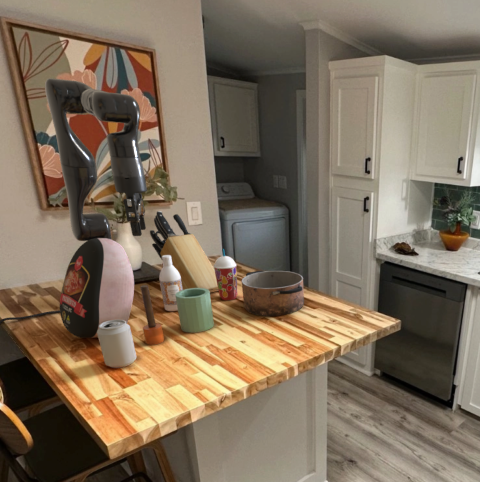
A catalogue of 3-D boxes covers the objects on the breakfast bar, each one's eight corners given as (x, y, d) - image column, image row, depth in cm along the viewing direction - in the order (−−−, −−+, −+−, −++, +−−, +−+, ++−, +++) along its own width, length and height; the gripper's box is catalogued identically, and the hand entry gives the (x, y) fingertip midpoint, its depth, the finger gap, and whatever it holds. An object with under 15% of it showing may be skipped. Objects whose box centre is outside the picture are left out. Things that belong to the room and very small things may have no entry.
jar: (180, 334, 131) (174, 299, 127) (182, 322, 140) (176, 289, 136) (214, 330, 135) (209, 296, 131) (213, 319, 144) (209, 286, 139)
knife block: (180, 275, 189) (169, 207, 178) (225, 291, 170) (216, 217, 159) (155, 280, 181) (142, 209, 169) (200, 298, 162) (188, 220, 150)
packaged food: (55, 333, 129) (28, 239, 118) (122, 315, 144) (103, 230, 133) (86, 353, 118) (59, 251, 107) (154, 331, 133) (137, 240, 122)
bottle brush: (144, 345, 123) (133, 289, 117) (146, 338, 128) (135, 284, 121) (163, 343, 125) (152, 287, 119) (164, 336, 129) (154, 282, 123)
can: (114, 356, 117) (105, 317, 112) (142, 356, 117) (134, 317, 113) (99, 369, 110) (89, 329, 105) (129, 369, 110) (119, 328, 106)
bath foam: (166, 313, 147) (156, 259, 140) (163, 306, 153) (154, 254, 145) (187, 309, 151) (178, 257, 143) (184, 303, 156) (175, 252, 149)
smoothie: (244, 296, 166) (239, 248, 159) (230, 302, 159) (224, 252, 152) (227, 293, 169) (221, 245, 161) (213, 299, 161) (206, 250, 154)
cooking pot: (228, 301, 160) (225, 275, 156) (278, 289, 175) (276, 265, 171) (270, 324, 141) (267, 295, 137) (321, 309, 156) (320, 282, 152)
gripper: (117, 172, 117) (128, 228, 123) (107, 176, 105) (120, 238, 111) (147, 172, 120) (157, 227, 126) (140, 176, 108) (151, 237, 114)
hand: (139, 232), depth 119 cm, fingers open, 8 cm apart
